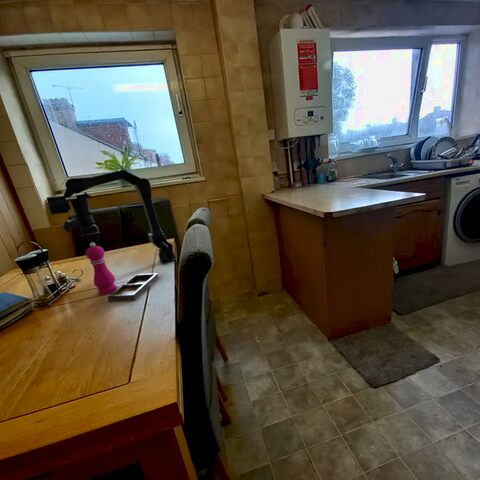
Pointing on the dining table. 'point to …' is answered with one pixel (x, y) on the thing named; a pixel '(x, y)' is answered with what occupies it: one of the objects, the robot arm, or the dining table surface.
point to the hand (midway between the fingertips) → (94, 247)
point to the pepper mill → (100, 270)
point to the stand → (133, 287)
